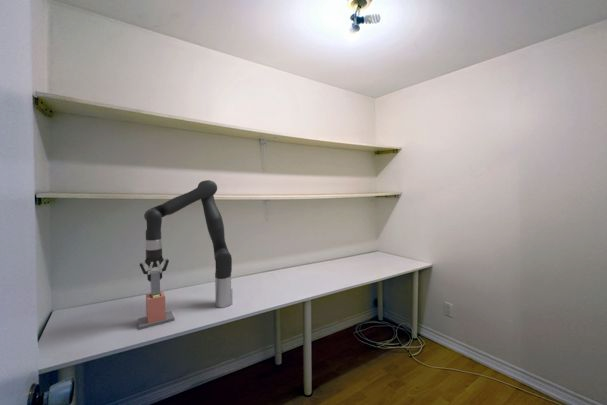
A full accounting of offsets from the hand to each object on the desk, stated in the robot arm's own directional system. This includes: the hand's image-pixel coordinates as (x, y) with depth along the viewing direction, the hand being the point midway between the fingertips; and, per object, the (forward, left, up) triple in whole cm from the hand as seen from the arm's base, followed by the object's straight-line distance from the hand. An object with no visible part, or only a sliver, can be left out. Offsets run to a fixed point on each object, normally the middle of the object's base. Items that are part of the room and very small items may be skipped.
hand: (154, 280), depth 142 cm
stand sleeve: (0, 0, -22) cm, 22 cm away
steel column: (0, 0, -14) cm, 14 cm away
